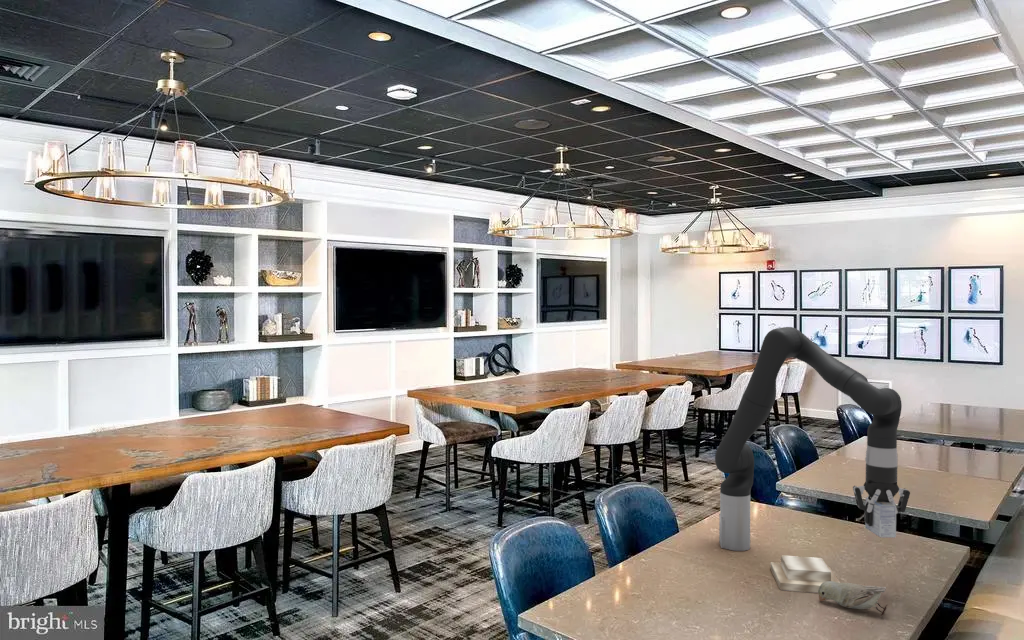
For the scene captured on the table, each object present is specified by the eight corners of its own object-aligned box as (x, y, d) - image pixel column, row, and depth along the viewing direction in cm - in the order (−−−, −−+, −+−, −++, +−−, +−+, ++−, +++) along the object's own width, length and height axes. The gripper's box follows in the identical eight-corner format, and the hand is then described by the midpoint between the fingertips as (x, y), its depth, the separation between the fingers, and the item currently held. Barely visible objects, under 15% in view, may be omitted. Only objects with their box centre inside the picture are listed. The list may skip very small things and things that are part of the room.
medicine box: (896, 538, 183) (897, 505, 183) (879, 538, 183) (879, 505, 183) (881, 528, 191) (881, 497, 191) (864, 528, 191) (865, 496, 191)
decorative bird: (820, 598, 185) (821, 569, 185) (889, 613, 175) (889, 584, 175) (815, 605, 180) (816, 576, 180) (885, 621, 171) (885, 591, 171)
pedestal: (780, 590, 189) (780, 571, 189) (770, 568, 205) (770, 551, 205) (843, 594, 186) (843, 576, 186) (828, 572, 202) (828, 555, 202)
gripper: (856, 464, 184) (855, 528, 185) (916, 467, 182) (914, 532, 182) (848, 458, 192) (847, 520, 192) (905, 461, 189) (904, 523, 189)
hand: (880, 525), depth 187 cm, fingers closed on medicine box, 5 cm apart
